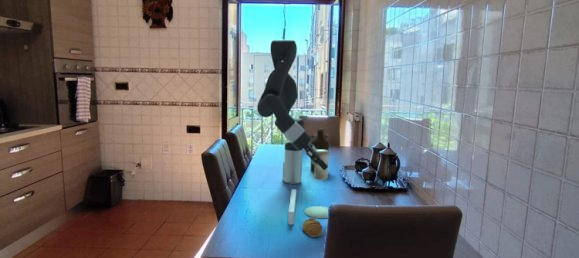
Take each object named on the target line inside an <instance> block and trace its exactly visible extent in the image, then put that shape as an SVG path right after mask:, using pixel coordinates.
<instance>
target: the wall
mask: <svg viewBox="0 0 579 258" xmlns="http://www.w3.org/2000/svg"><path fill="white" fill-rule="evenodd" d="M289 201H290V202H289V205H288V217H287V219H288V221H287V222H288V223H287V224H288V225H294V223H295V222H294V221H295V212H296V203H297V189H293V188H291V192H290V199H289Z"/></svg>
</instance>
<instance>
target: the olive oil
mask: <svg viewBox="0 0 579 258" xmlns="http://www.w3.org/2000/svg"><path fill="white" fill-rule="evenodd" d="M310 143H312V144H313V145H314V147H315V148H316V149H317V150H328V151H329V152H330V143H329V141H328V139H327V138H326V137H325V135H324V128H322V127H318V128H317V133H316V136H315V137H314V138H313V139H311V141H310ZM314 165H315V162H314V161H313V160H312V159H311V158H310V171H311V172H312V173H314Z"/></svg>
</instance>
